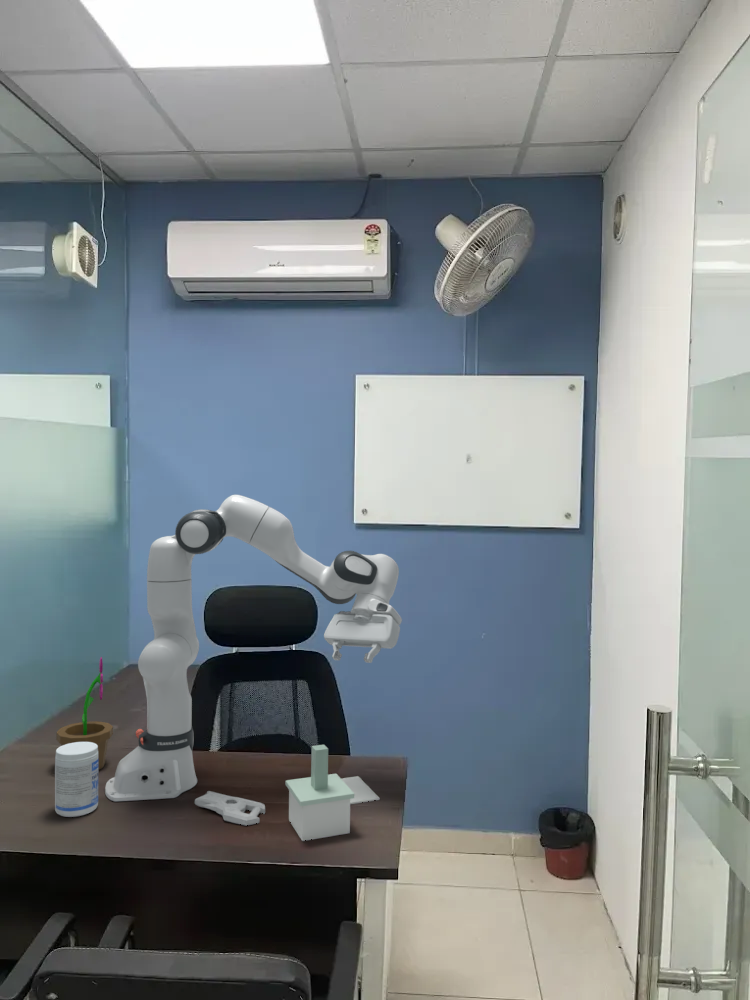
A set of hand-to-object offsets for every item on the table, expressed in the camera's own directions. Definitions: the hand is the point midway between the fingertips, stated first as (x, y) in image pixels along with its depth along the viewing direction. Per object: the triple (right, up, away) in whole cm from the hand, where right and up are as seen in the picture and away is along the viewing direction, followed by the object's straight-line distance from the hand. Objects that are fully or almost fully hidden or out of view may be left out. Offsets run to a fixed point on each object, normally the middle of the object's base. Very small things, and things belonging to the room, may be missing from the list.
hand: (351, 660), depth 180 cm
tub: (-7, -35, -14) cm, 38 cm away
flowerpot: (-73, -34, +20) cm, 83 cm away
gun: (-28, -35, -7) cm, 46 cm away
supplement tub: (-65, -34, -7) cm, 73 cm away
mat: (-3, -35, +5) cm, 35 cm away
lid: (-7, -28, -14) cm, 32 cm away
